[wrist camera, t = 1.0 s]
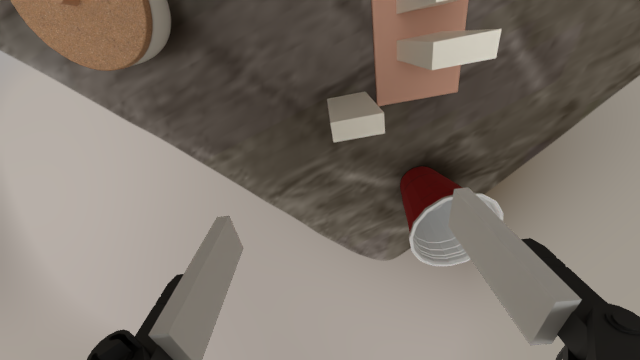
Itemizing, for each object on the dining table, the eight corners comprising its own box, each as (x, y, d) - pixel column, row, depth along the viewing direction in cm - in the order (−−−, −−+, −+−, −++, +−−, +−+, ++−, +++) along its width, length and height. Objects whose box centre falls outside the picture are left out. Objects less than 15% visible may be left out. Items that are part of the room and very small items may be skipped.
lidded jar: (189, 74, 29) (140, 88, 21) (93, 47, 28) (0, 51, 19) (188, -38, 24) (122, -76, 16) (69, -79, 22) (-72, -145, 14)
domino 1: (326, 98, 31) (330, 122, 22) (365, 91, 30) (383, 112, 22) (329, 114, 32) (333, 142, 23) (366, 106, 31) (384, 133, 23)
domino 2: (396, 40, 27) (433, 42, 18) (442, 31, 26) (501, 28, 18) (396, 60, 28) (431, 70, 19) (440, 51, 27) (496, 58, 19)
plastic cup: (469, 176, 37) (527, 230, 27) (414, 218, 41) (446, 278, 31) (425, 134, 33) (472, 178, 23) (370, 185, 38) (390, 241, 27)
